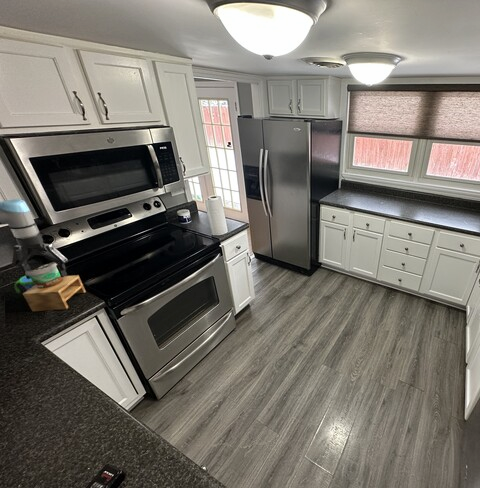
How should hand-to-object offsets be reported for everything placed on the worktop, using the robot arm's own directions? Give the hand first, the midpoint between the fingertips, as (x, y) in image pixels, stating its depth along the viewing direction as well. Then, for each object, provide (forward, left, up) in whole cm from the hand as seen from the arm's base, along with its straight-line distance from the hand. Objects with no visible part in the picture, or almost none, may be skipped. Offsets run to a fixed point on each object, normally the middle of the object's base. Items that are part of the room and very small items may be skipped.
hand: (47, 276), depth 123 cm
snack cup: (-13, +8, -14) cm, 21 cm away
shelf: (0, 0, -14) cm, 14 cm away
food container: (+1, 0, -4) cm, 4 cm away
